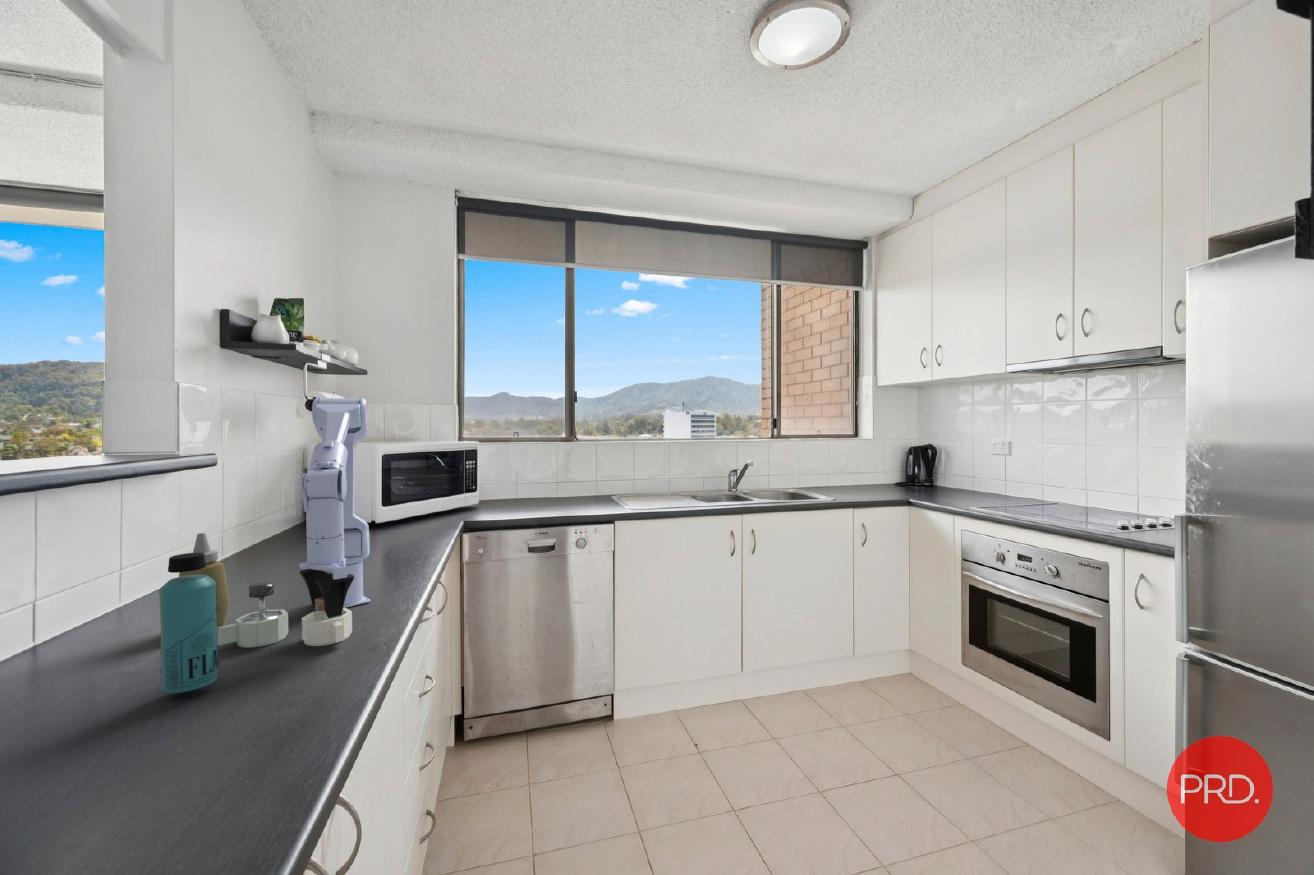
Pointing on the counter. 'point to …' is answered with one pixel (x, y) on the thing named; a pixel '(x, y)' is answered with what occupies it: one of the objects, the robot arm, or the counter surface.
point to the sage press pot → (255, 630)
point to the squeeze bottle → (213, 576)
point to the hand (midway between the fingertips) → (327, 611)
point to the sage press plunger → (261, 600)
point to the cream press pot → (326, 628)
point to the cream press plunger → (320, 606)
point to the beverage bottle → (188, 627)
